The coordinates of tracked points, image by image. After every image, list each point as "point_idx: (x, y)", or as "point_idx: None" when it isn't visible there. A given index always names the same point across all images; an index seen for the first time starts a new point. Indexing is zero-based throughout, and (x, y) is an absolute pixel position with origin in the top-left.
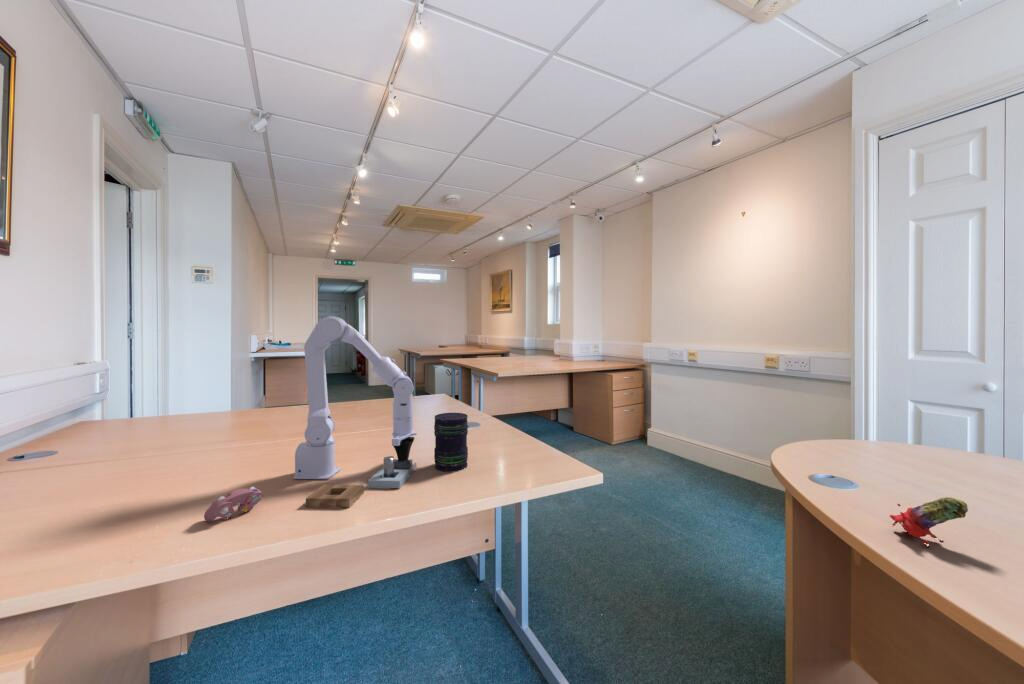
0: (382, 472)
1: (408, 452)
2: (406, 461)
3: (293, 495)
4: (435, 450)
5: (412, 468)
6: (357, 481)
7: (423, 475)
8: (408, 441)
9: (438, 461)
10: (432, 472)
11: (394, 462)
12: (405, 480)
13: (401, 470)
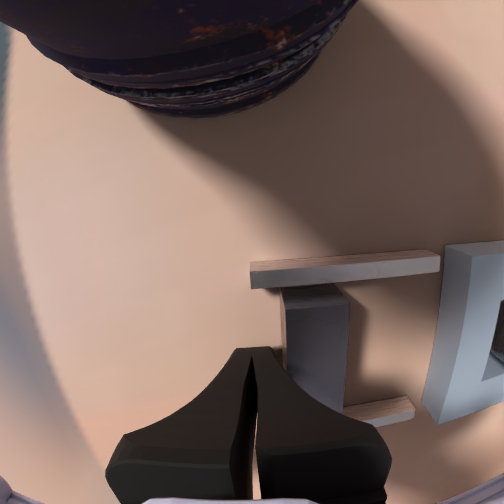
0: (483, 387)
1: (258, 385)
2: (337, 340)
3: None
4: (299, 29)
5: (369, 260)
6: (452, 443)
7: (417, 153)
8: (328, 476)
9: (332, 36)
10: (357, 100)
11: (341, 412)
12: (498, 242)
13: (480, 301)
